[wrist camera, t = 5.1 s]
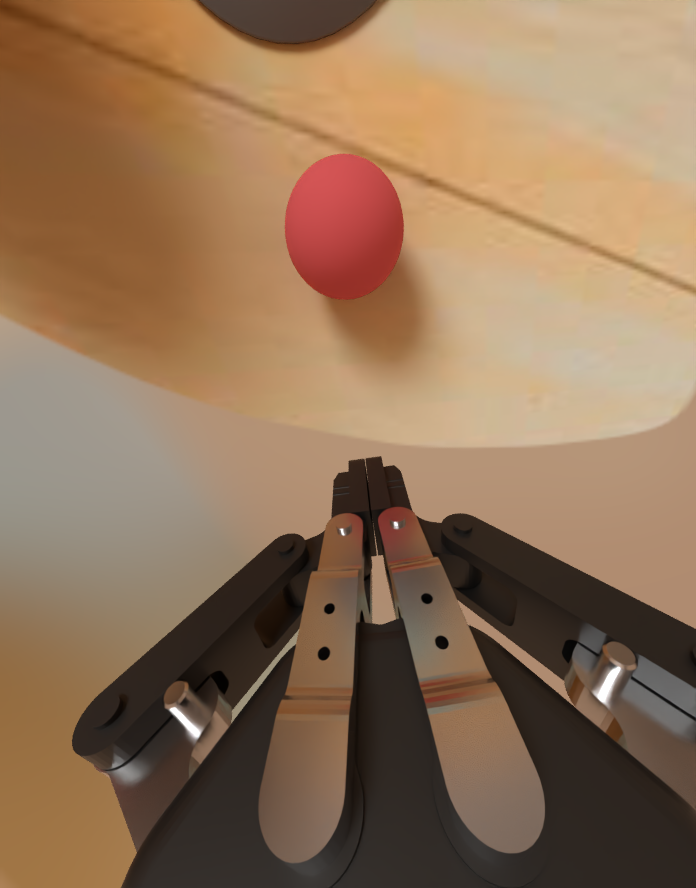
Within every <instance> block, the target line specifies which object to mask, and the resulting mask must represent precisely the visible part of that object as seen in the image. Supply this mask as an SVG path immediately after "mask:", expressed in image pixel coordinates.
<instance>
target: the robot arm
mask: <svg viewBox="0 0 696 888" xmlns="http://www.w3.org/2000/svg"><path fill="white" fill-rule="evenodd" d="M366 467H367V473H366ZM367 476H368V479H367ZM373 525H374V527H373ZM374 531H375V536H374ZM375 537H376V543H377V550H378V555H383V557H384V564H385V571H386V577H387V581H388V585H389V589H390V594H391V598H392V603H393V608H394V612H395V616H396V620H394V621H391V622H388V623H386V624H382V625H378V624H372V571H371V569H372V560H371V556H376V555H377V554H376V545H375ZM457 600H459V601H460V602H461V603H463V604H464V605H465V606H467V607H468V608H469V609H470V610H472V611H473V612H474V613H476V614H477V615H478V616H480V617H481V618H482V619H484V620H485V621H486V622H487V623H489V624H490V625H491V626H493V627H494V628H495V629H497V630H498V631H499V632H501V633H502V634H503V635H505V636H506V637H507V638H508V639H510V640H511V641H513V642H514V643H515V644H516V645H518V646H519V647H520V648H522V649H523V650H524V651H526V652H527V653H528V654H530V655H531V656H532V657H533V658H535V659H536V660H537V661H539V662H540V663H541V664H543V665H544V666H545V667H547V668H548V669H549V670H551V671H552V672H553V673H554V674H556V675H557V676H559V677H560V678H561V679H562V680H564V684H565V688H566V691H567V694H568V696H569V698H570V700H571V702H572V703H573V704H574V706H575V707H576V708H577V709H576V708H575V707H574V706H573V705H571V704H570V703H569V702H568V701H567V700H566V699H564V698H563V697H562V696H561V695H560V694H558V693H557V692H556V691H555V690H554V689H552V688H551V687H550V686H549V685H548V684H546V683H545V682H544V681H543V680H542V679H541V678H539V677H538V676H537V675H536V674H535V673H533V672H532V671H531V670H530V669H529V668H527V667H526V666H525V665H524V664H522V663H521V662H520V661H519V660H518V659H517V658H515V657H514V656H513V655H512V654H511V653H509V652H508V651H507V650H506V649H505V648H503V647H502V646H501V645H500V644H499V643H497V642H496V641H495V640H494V639H492V638H491V637H489V636H488V635H487V634H485V633H483V632H482V631H480V630H478V629H476V628H474V627H472V626H469V625H468V624H467V622H466V619H465V617H464V615H463V612H462V610H461V608H460V606H459V603H458V601H457ZM298 629H299V633H298V638H297V643H296V645H295V646H293V647H292V648H291V649H290V650H289V651H288V652H287V653H286V654H285V655H284V656H283V657H282V658H281V659H280V661H279V662H278V663H277V664H276V666H275V667H274V668H273V670H272V671H271V672H270V674H269V675H268V676H267V678H266V679H265V680H264V681H263V683H262V684H261V686H260V687H259V688H258V689H257V691H256V692H255V693H254V695H253V696H252V697H251V698H250V700H249V701H248V703H247V704H246V705H245V706H244V708H243V709H242V711H241V712H240V713H239V714H238V716H237V717H236V718H235V719H234V721H233V722H232V723H231V720H232V710H233V709H234V707H235V706H236V705H237V703H238V702H239V701H240V700H241V699H242V697H243V696H244V695H245V694H246V693H247V692H248V690H249V689H250V688H251V687H252V685H253V684H254V683H255V682H256V681H257V679H258V678H259V677H260V676H261V674H262V673H263V672H264V671H265V670H266V668H267V667H268V666H269V665H270V664H271V662H272V661H273V660H274V658H275V657H276V656H277V655H278V654H279V652H280V651H281V650H282V649H283V648H284V646H285V645H286V644H287V643H288V642H289V640H290V639H291V638H292V637H293V635H294V634H295V633H296V632H297V631H298ZM72 746H73V750H74V751H75V752H76V753H77V754H78V755H80V756H81V757H83V758H84V759H86V760H87V761H89V762H91V763H92V764H94V767H95V768H96V769H97V770H98V771H99V772H101V773H103V774H104V775H106V776H108V777H109V778H110V779H111V782H112V785H113V787H114V790H115V793H116V795H117V798H118V801H119V804H120V807H121V809H122V812H123V815H124V818H125V820H126V823H127V826H128V829H129V831H130V834H131V837H132V840H133V842H134V845H135V848H136V851H137V854H136V856H135V858H134V860H133V862H132V864H131V866H130V868H129V870H128V873H127V875H126V877H125V880H124V882H123V884H122V887H121V888H696V629H694V628H693V627H691V626H688V625H686V624H685V623H683V622H681V621H679V620H677V619H675V618H673V617H671V616H669V615H667V614H665V613H663V612H661V611H659V610H657V609H655V608H653V607H651V606H649V605H647V604H645V603H643V602H641V601H639V600H637V599H635V598H633V597H631V596H629V595H628V594H625V593H623V592H622V591H620V590H618V589H615V588H614V587H611V586H610V585H608V584H606V583H604V582H602V581H600V580H598V579H596V578H594V577H592V576H590V575H588V574H586V573H584V572H582V571H580V570H578V569H576V568H574V567H572V566H570V565H568V564H566V563H564V562H562V561H560V560H558V559H556V558H554V557H553V556H551V555H549V554H547V553H545V552H543V551H541V550H539V549H537V548H535V547H533V546H531V545H529V544H527V543H525V542H523V541H521V540H519V539H517V538H515V537H513V536H511V535H509V534H507V533H505V532H503V531H501V530H499V529H497V528H495V527H493V526H491V525H489V524H488V523H486V522H484V521H482V520H480V519H478V518H476V517H474V516H471V515H468V514H461V513H460V514H452V515H449V516H447V517H446V518H445V519H444V520H443V521H442V523H436V522H429V521H425V520H423V519H421V518H419V517H418V516H416V515H415V513H414V512H413V511H412V508H411V505H410V502H409V498H408V495H407V491H406V488H405V484H404V481H403V477H402V474H401V471H400V470H399V469H398V468H397V467H395V466H394V465H393V466H386V467H383V463H382V458H381V456H380V457H372V458H366V466H365V460H364V459H358V460H351V461H349V472H343V473H338V475H337V476H336V478H335V479H334V486H333V501H332V518H331V520H329V522H328V523H327V525H326V528H325V531H324V532H322V533H321V534H319V535H317V536H315V537H312V538H310V539H307V540H304V538H303V537H302V536H300V535H298V534H286V535H283V536H280V537H278V538H277V539H275V540H274V541H273V542H272V543H271V544H269V545H268V546H267V547H266V548H265V549H264V550H263V551H262V552H260V553H259V554H258V555H257V556H256V557H255V558H254V559H252V560H251V561H250V562H249V563H248V564H247V565H246V566H244V567H243V568H242V569H241V570H240V571H239V572H238V573H236V574H235V575H234V576H233V577H232V578H231V579H230V580H229V581H227V582H226V583H225V584H224V585H223V586H222V587H221V588H219V589H218V590H217V591H216V592H215V593H214V594H213V595H211V596H210V597H209V598H208V599H207V600H206V601H205V602H204V603H202V604H201V605H200V606H199V607H198V608H197V609H196V610H195V611H193V612H192V613H191V614H190V615H189V616H188V617H186V619H184V620H183V621H182V622H181V623H180V624H179V625H177V626H176V627H175V628H174V629H173V630H172V631H171V632H169V633H168V634H167V635H166V636H165V637H164V638H163V639H161V640H160V641H159V642H158V643H157V644H156V645H155V646H154V647H152V648H151V649H150V650H149V651H148V652H147V653H146V654H144V656H142V657H141V658H140V659H139V660H138V661H137V662H135V663H134V664H133V665H132V666H131V667H130V668H129V669H127V671H125V672H124V673H123V674H122V675H121V676H119V677H118V678H117V679H116V680H115V681H114V682H113V683H112V684H110V685H109V686H108V687H107V688H106V689H105V690H104V691H103V692H101V693H100V694H99V695H98V696H97V697H96V698H95V699H94V700H93V701H92V702H91V704H90V705H89V706H88V707H87V708H86V710H85V711H84V713H83V714H82V716H81V717H80V719H79V721H78V723H77V725H76V727H75V730H74V734H73V739H72Z"/></svg>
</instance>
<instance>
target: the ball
mask: <svg viewBox="0 0 696 888" xmlns="http://www.w3.org/2000/svg"><path fill="white" fill-rule="evenodd" d="M403 232H404V223H403V214H402V209H401V204H400V201H399V198H398V195H397V193H396V191H395V189H394V187H393V185H392V183H391V182H390V180H389V179H388V177H387V176H386V175H385V174H384V173H383V172H382V170H381V169H380V168H378V167H377V166H376V165H375V164H373V163H372V162H370V161H368V160H367V159H365V158H362V157H359V156H356V155H351V154H337V155H332V156H329V157H325V158H323V159H321V160H319V161H317V162H316V163H315V164H313V165H312V166H311V167H309V168H308V169H307V170H306V171H305V172H304V173H303V175H302V176H301V177H300V179H299V180H298V181H297V183H296V185H295V187H294V189H293V191H292V193H291V196H290V198H289V202H288V205H287V210H286V217H285V236H286V243H287V248H288V251H289V255H290V257H291V260H292V262H293V264H294V266H295V268H296V270H297V271H298V273H299V274H300V276H301V277H302V278H303V279H304V280H305V282H306V283H307V284H308V285H310V286H311V287H312V288H313V289H315V290H316V291H318V292H319V293H321V294H323V295H325V296H328V297H331V298H335V299H344V300H348V299H355V298H359V297H362V296H364V295H366V294H368V293H370V292H372V291H373V290H375V289H376V288H377V287H378V286H380V285H381V284H382V283H383V282H384V281H385V280H386V278H387V277H388V276H389V274H390V273H391V271H392V269H393V268H394V266H395V264H396V262H397V259H398V257H399V254H400V251H401V246H402V242H403Z"/></svg>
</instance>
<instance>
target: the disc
mask: <svg viewBox="0 0 696 888" xmlns="http://www.w3.org/2000/svg"><path fill="white" fill-rule="evenodd" d="M199 1H200V2H201V3H202V4H203V5H204V6H205V7H207V8H208V9H209V10H210V11H211V12H213V13H214V14H215V15H216V16H217V17H218V18H220V19H221V20H223V21H224V22H226V23H228V24H229V25H231V26H232V27H234V28H236V29H237V30H239V31H241V32H243V33H246V34H248V35H250V36H253V37H255V38H257V39H261V40H266V41H270V42H274V43H287V44H298V43H304V42H310V41H316V40H318V39H321V38H324V37H326V36H329V35H332V34H334V33H336V32H337V31H339V30H341V29H342V28H344V27H346V26H347V25H349V24H351V23H352V22H353V21H355V20H356V19H357V18H358V17H359V16H360V15H362V14H363V13H364V12H365V11H366V10H367V9H369V8H370V7H371V6H372V4H373V3H374V2H375V1H376V0H199Z"/></svg>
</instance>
